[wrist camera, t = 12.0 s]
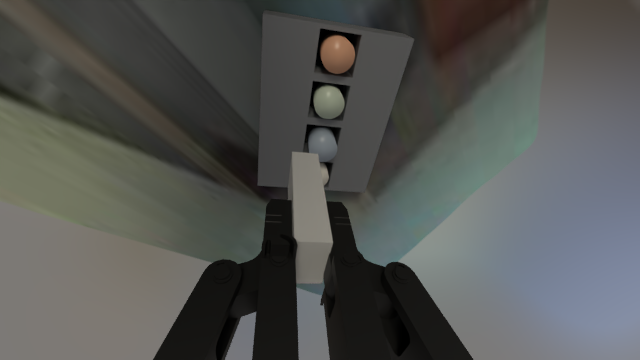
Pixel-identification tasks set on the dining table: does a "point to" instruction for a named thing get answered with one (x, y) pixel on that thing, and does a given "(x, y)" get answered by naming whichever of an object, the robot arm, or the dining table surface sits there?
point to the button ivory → (324, 172)
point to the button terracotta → (336, 53)
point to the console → (300, 71)
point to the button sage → (328, 100)
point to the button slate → (322, 143)
